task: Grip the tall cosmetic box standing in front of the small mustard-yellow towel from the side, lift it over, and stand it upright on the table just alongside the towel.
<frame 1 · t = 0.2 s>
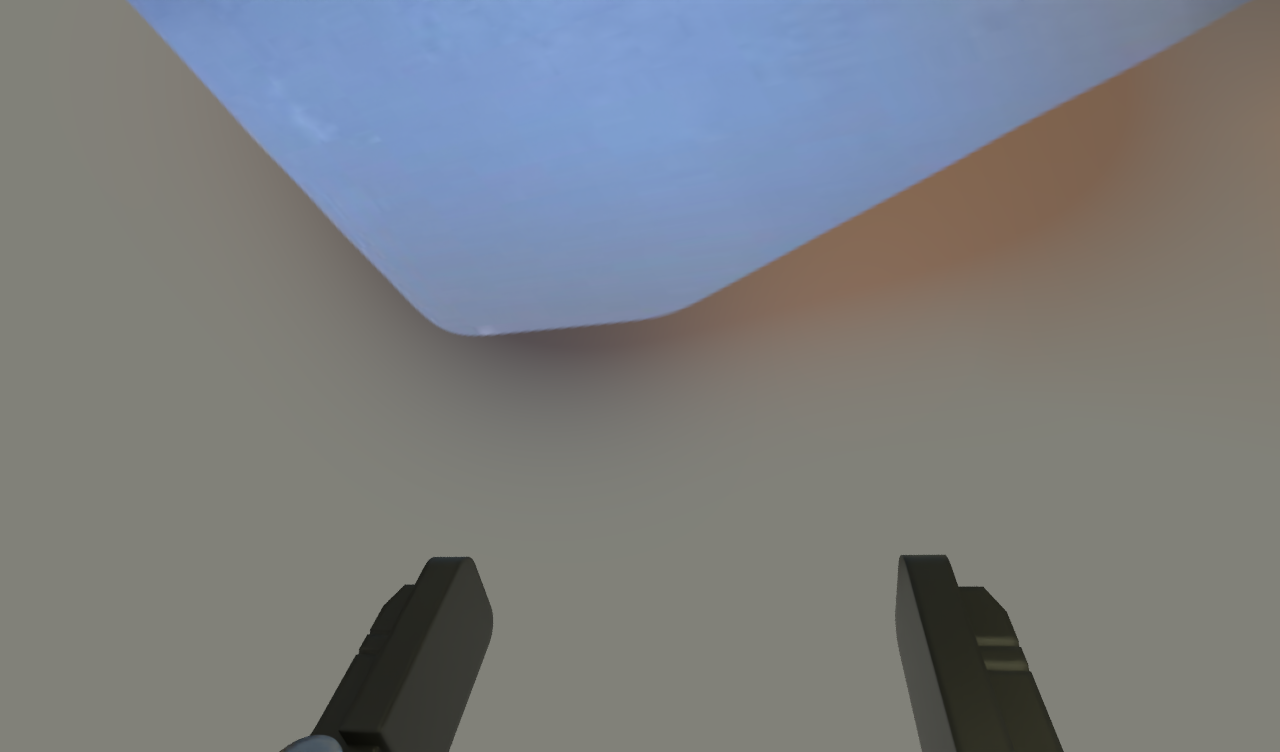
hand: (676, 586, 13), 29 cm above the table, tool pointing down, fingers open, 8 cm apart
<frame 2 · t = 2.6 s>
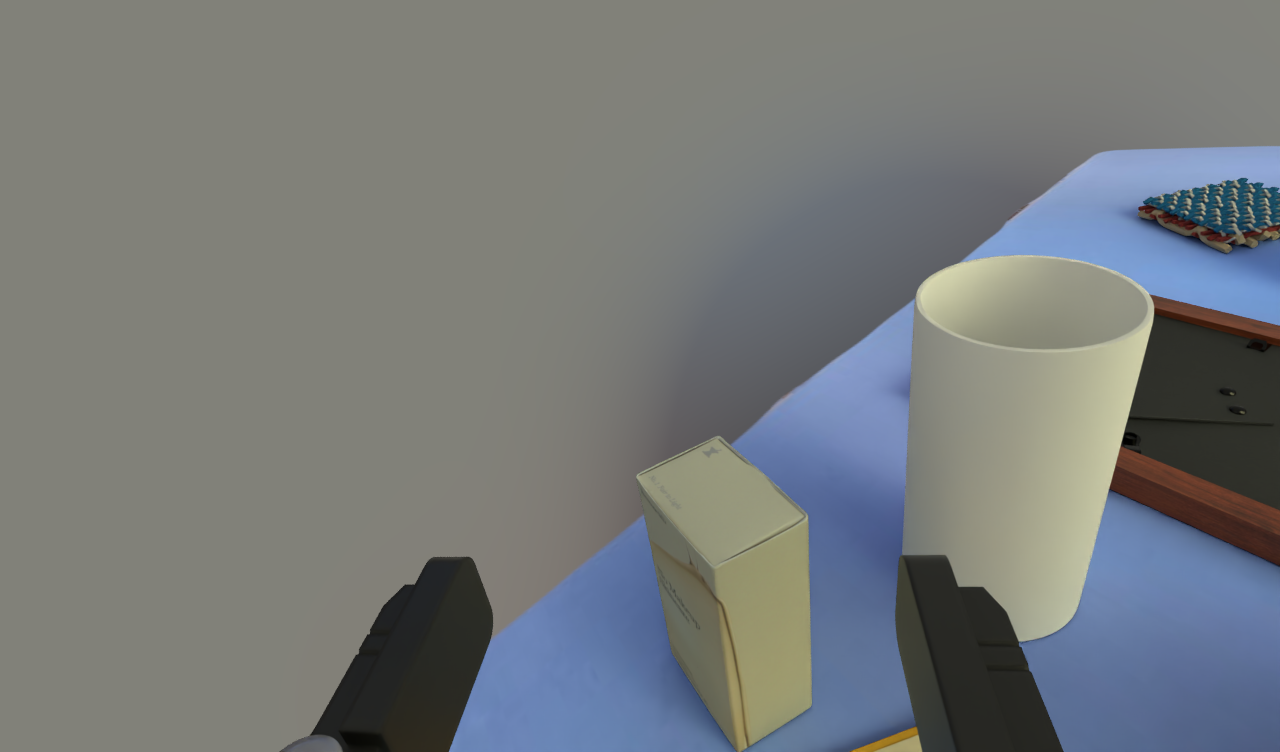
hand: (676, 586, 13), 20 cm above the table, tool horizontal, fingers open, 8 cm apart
cosmetic box: (742, 681, 32), on the table
picture frame: (1188, 411, 42), on the table
cup: (986, 575, 35), on the table
woven mat: (1227, 225, 62), on the table
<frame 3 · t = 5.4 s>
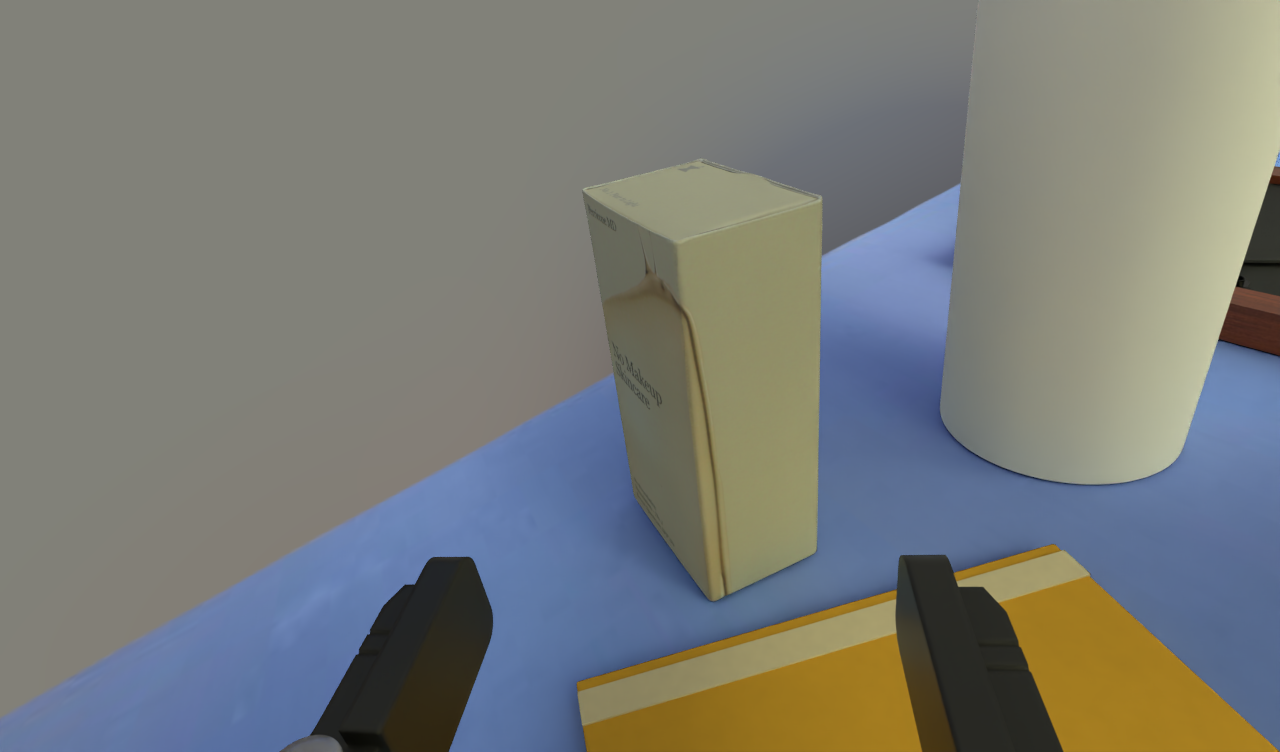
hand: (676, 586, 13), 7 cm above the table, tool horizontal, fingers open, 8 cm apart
cosmetic box: (724, 529, 24), on the table
cup: (1052, 421, 27), on the table
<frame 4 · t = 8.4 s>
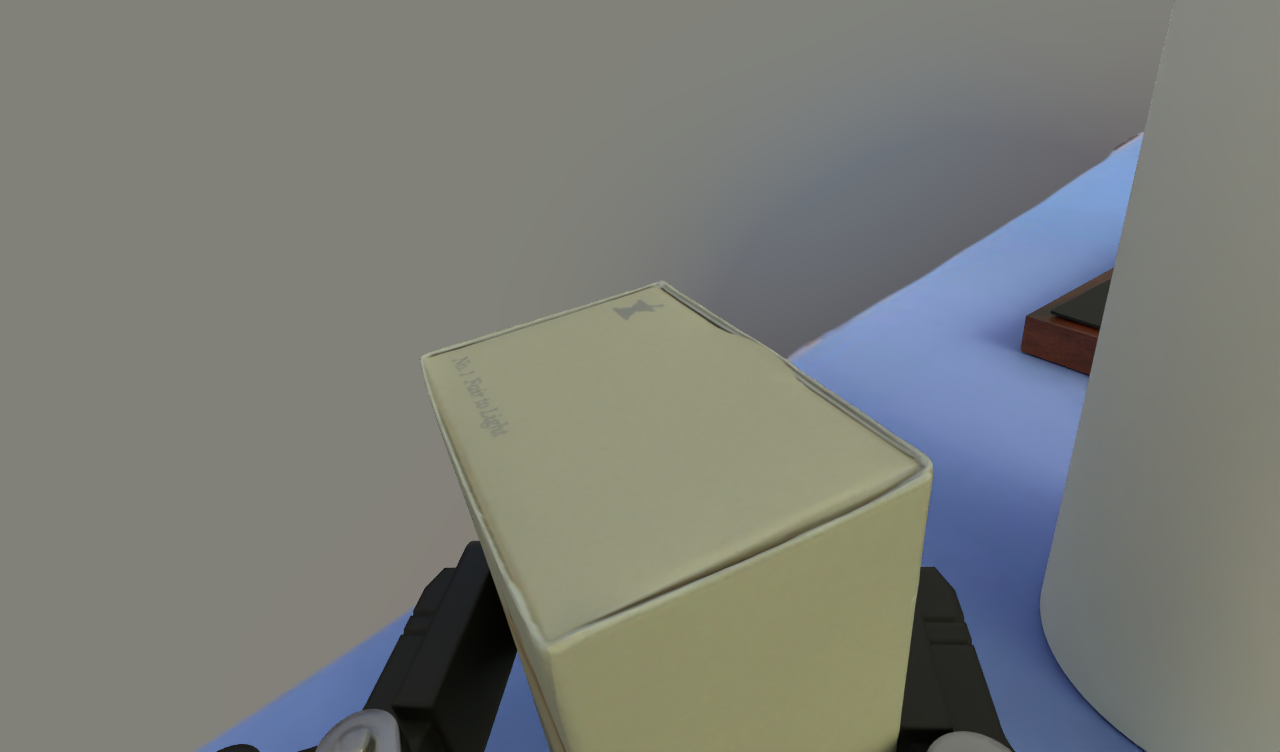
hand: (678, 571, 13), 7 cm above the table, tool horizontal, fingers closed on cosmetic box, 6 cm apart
cup: (1226, 655, 17), on the table
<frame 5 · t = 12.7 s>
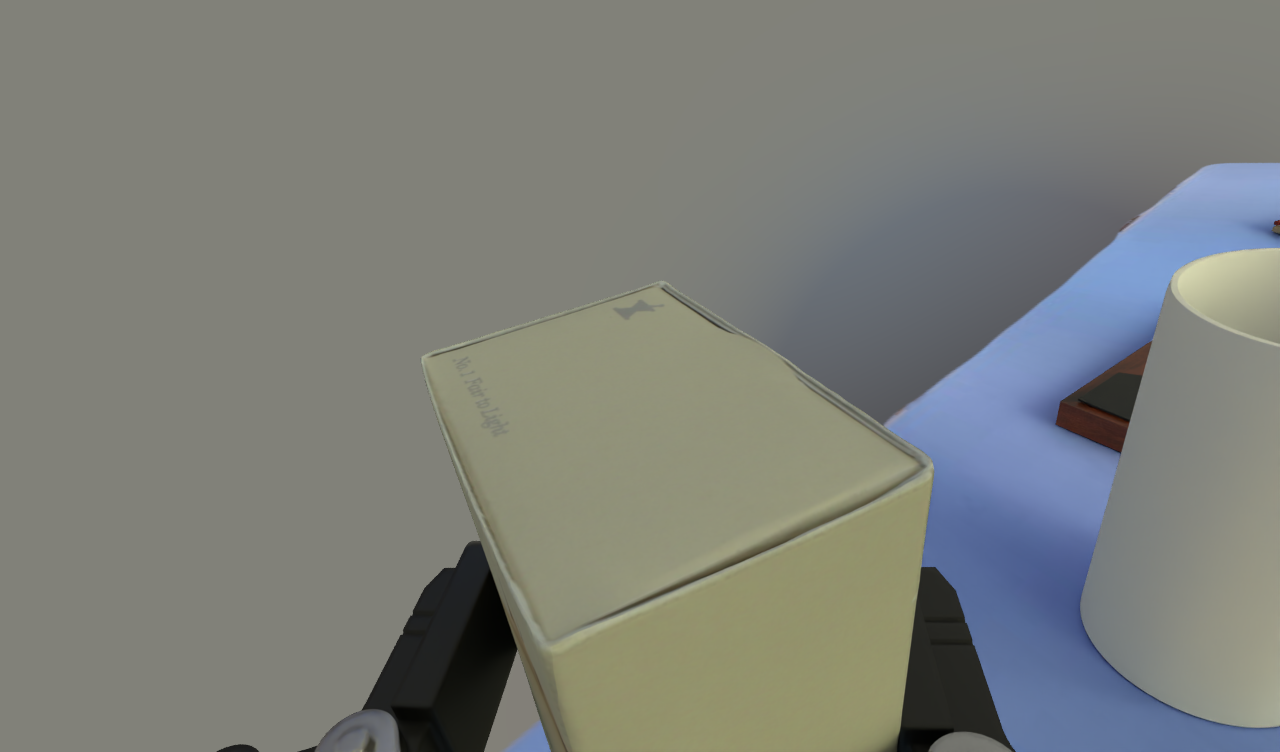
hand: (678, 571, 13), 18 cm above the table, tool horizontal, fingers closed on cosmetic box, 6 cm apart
cup: (1191, 638, 29), on the table
when the fingers open (7 cm above the table, at t = 17.0 s): cosmetic box stays where it is, on the table.
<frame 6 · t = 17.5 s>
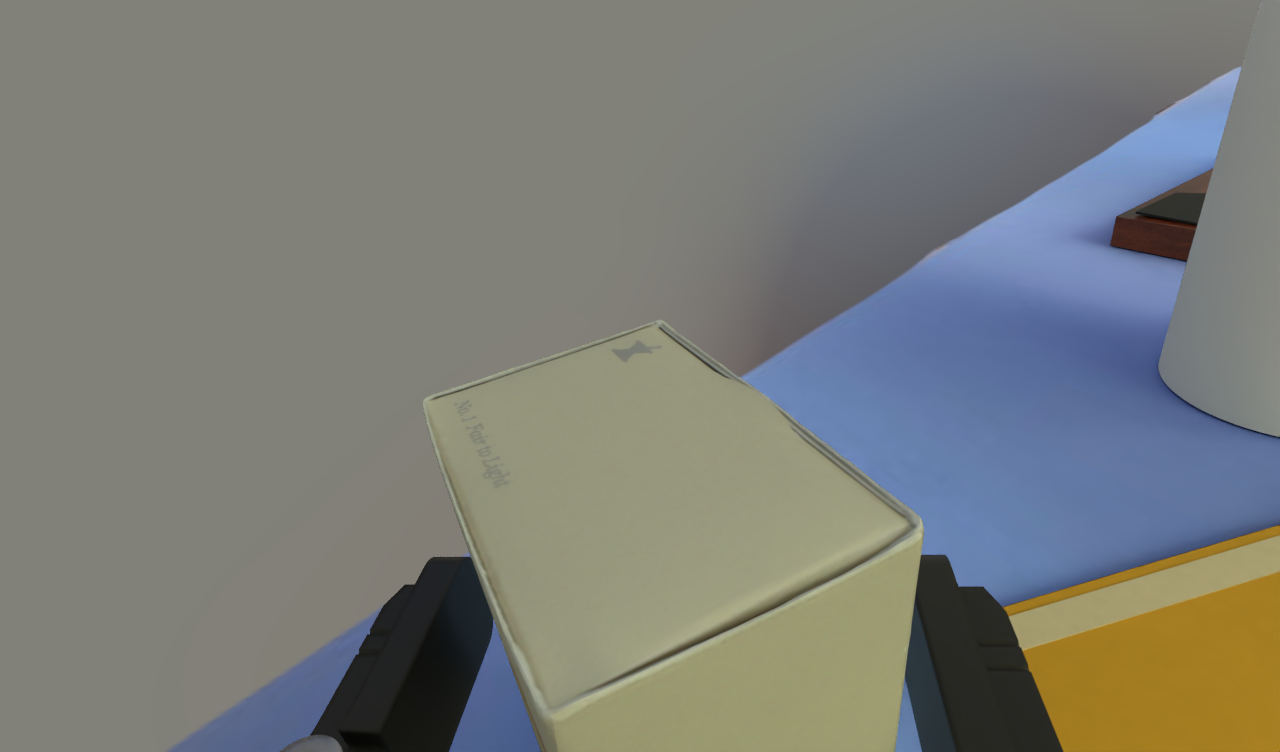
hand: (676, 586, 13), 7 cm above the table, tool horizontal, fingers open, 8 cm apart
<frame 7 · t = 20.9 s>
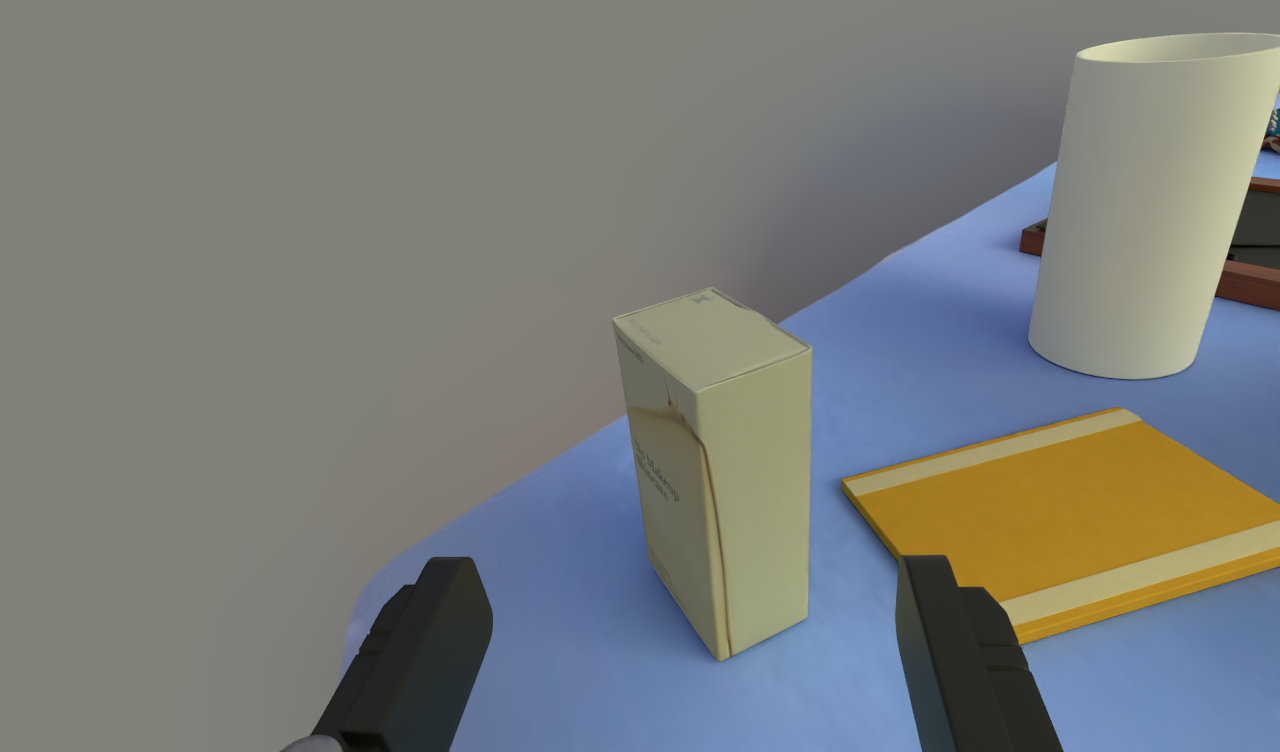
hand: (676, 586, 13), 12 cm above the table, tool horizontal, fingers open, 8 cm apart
cosmetic box: (728, 592, 28), on the table
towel: (1057, 516, 29), on the table
picture frame: (1276, 250, 47), on the table
cup: (1106, 346, 40), on the table
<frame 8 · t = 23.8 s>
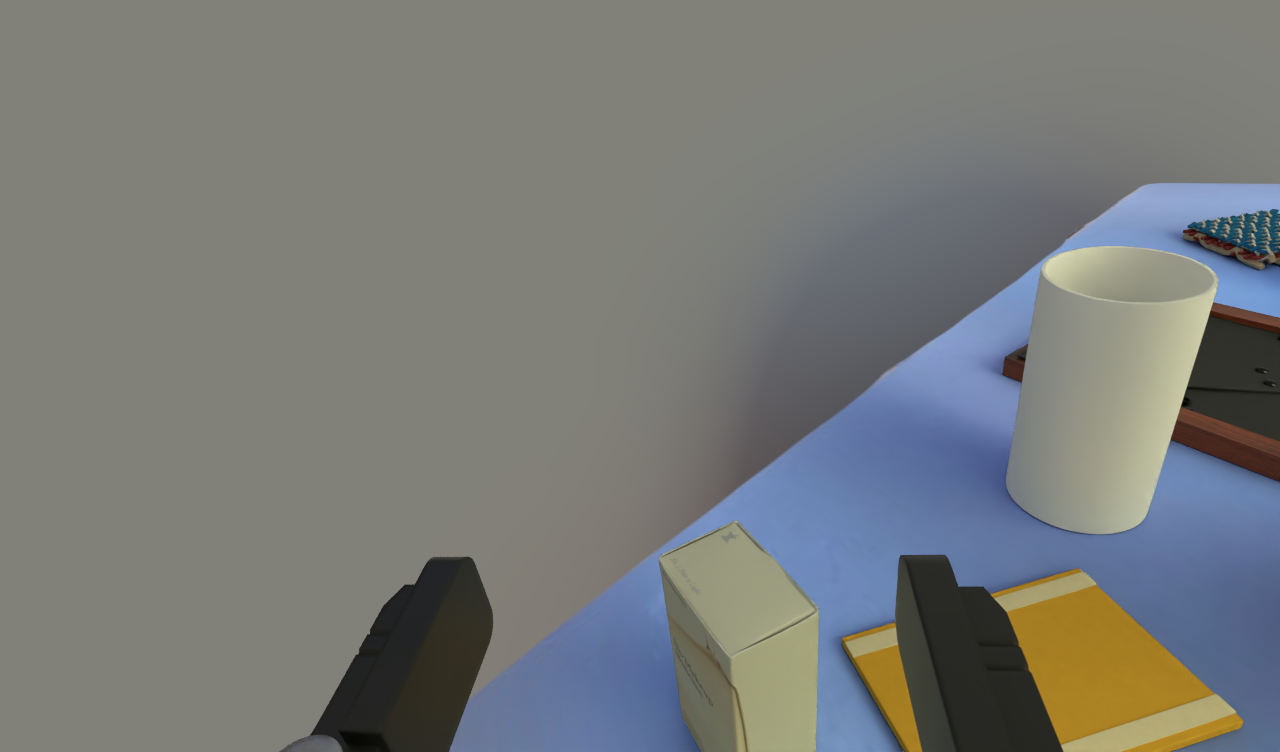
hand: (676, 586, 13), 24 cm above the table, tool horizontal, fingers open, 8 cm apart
cosmetic box: (749, 750, 34), on the table
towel: (1021, 682, 35), on the table
picture frame: (1229, 386, 53), on the table
cup: (1073, 493, 46), on the table
woven mat: (1260, 248, 72), on the table
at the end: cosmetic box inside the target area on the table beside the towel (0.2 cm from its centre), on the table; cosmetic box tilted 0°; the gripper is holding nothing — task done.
